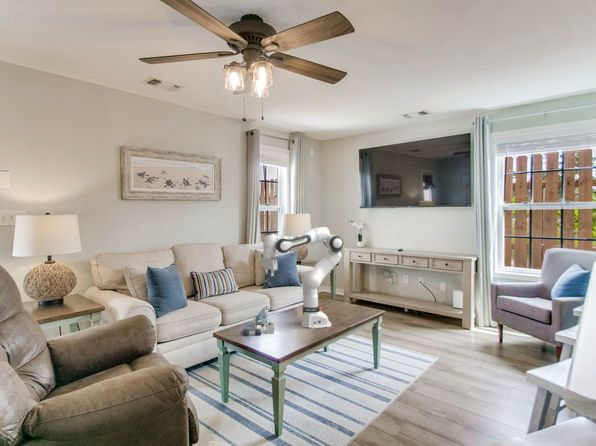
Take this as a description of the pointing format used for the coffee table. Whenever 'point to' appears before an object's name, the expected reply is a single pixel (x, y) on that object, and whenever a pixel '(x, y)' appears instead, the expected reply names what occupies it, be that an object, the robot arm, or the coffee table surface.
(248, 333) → the chassis
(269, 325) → the cube with round knob
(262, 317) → the toy figure
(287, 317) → the coffee table surface
